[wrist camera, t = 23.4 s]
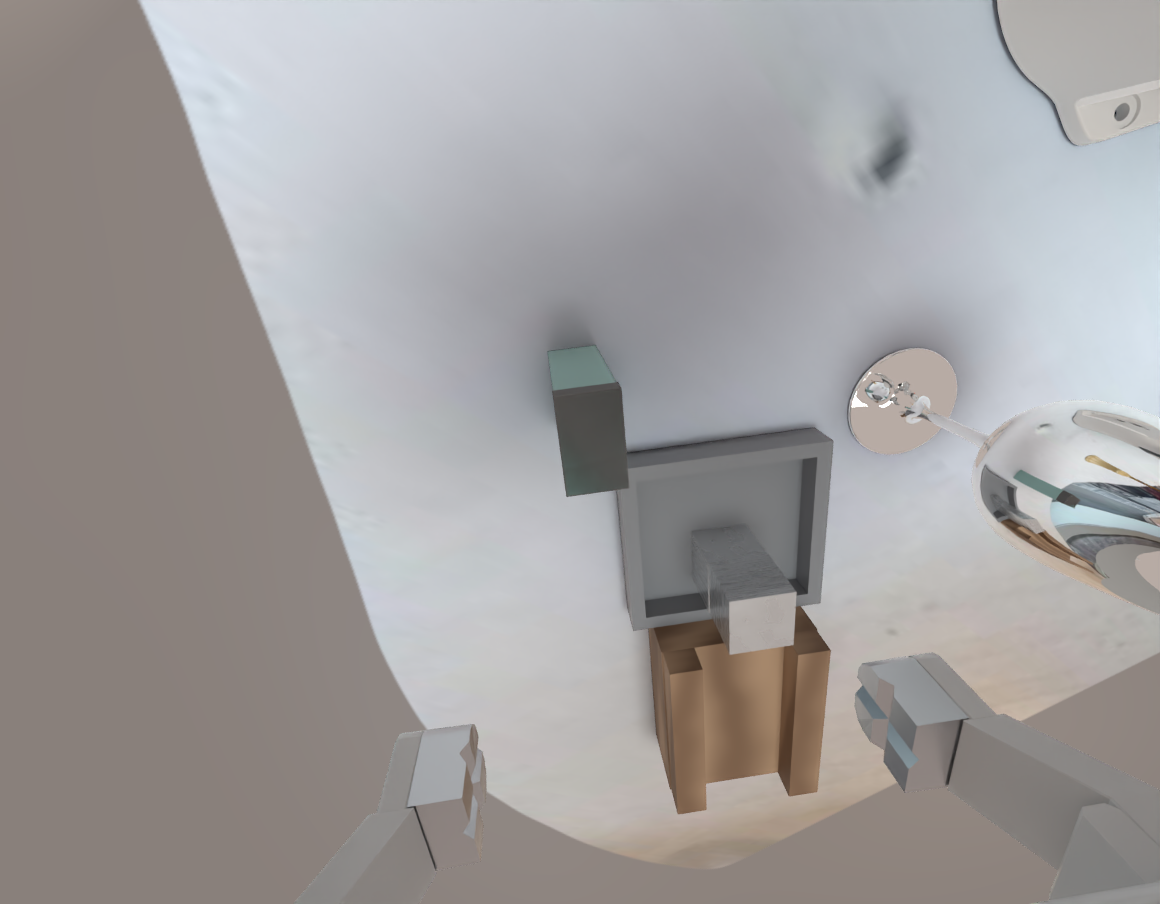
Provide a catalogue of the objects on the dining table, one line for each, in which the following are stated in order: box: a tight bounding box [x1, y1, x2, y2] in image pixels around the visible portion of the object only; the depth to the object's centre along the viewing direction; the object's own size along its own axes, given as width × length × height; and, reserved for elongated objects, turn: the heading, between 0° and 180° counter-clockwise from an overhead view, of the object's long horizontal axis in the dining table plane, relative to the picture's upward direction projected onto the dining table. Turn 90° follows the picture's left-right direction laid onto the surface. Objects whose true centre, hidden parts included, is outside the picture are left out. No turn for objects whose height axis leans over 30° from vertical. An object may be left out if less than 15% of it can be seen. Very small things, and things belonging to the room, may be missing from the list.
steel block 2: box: [708, 554, 797, 655], centre depth 34 cm, size 4×4×4 cm
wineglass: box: [848, 348, 1160, 615], centre depth 28 cm, size 8×8×20 cm
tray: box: [617, 428, 833, 631], centre depth 38 cm, size 14×13×2 cm
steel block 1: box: [691, 524, 767, 612], centre depth 38 cm, size 4×4×4 cm
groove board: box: [649, 606, 831, 814], centre depth 41 cm, size 11×14×7 cm
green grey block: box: [548, 345, 629, 497], centre depth 30 cm, size 5×3×10 cm, turn 6°
